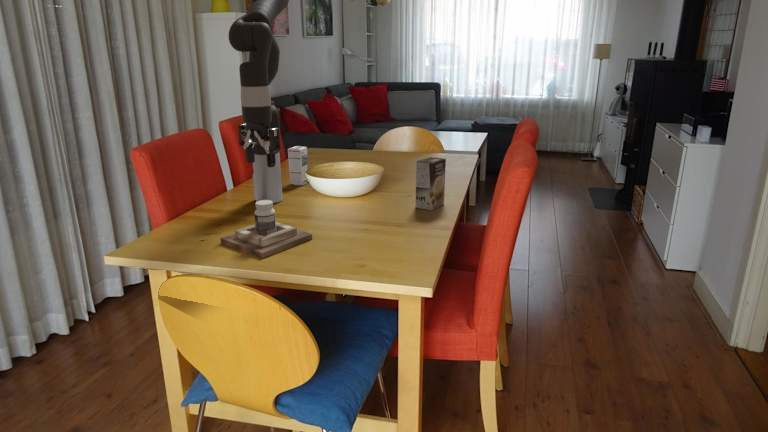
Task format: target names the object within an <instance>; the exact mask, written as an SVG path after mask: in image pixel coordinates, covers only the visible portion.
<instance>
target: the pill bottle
mask: <svg viewBox="0 0 768 432" xmlns="http://www.w3.org/2000/svg"><path fill="white" fill-rule="evenodd" d="M273 206H274V203H273V202H272V201H271V200H260V201H256V202H255V208H256V209H255V211H254V212H253V213H254V214H253V215H254V224H255V228H256V234H259V235H262V236H266V235H269V234H272V233H275V232H277V229H276V222H277V219H276V217H277V216H276V211H275V210H276V209H275V208H273Z"/></svg>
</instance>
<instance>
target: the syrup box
mask: <svg viewBox="0 0 768 432" xmlns="http://www.w3.org/2000/svg"><path fill="white" fill-rule="evenodd" d="M287 155H288V169H289V170H288V171H289V172H288V173H289V183H290V185H292V184H293V186H302V185H303V186H304V185H306V184H308V183H309V182H308V181H307V178H306V176H305V172H306V171H307V170H309V171H310V169H309V156H308V147H307V146H301V145H296V146H293V147H289V148H287ZM307 182H308V183H307Z"/></svg>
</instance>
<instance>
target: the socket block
mask: <svg viewBox="0 0 768 432" xmlns="http://www.w3.org/2000/svg"><path fill="white" fill-rule="evenodd" d="M276 229H277V232H275V233H272V234H269V235H266V236H262V235H259V234H256V228H255V223H254V224H251V225H247V226H245V227H242V228H239V229H236V230H235V231H234V232H235V233H232V234H229V235H226V236H223V237H220V239H219V240H220V244H222V245H225V246H228V247H231V248H232V249H236V250H239V251H241V252H244V253H246V254H250V255H253V256H255V257H258V258H261V259H265V258H267V257H270V256H272V255H275V254H278V253H280V252H283V251H285V250H287V249H291V248H293V247H295V246H297V245H300V244H303V243H306V242H308V241H310V240H313V233H311V232H307V231H303V230H300V229H297V227H295V226H291V225H288V224H286V223H285V224H284V223H281V222H279V221H278V222H277V221H276Z"/></svg>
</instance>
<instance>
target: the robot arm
mask: <svg viewBox="0 0 768 432" xmlns="http://www.w3.org/2000/svg"><path fill="white" fill-rule="evenodd" d="M289 1H290V0H251V5H250V6H249V7H248V9H247V12H246V13H245V14H243V15H242V16H239V18H237V19H235V20H234V21H233V23H232V24H231V25H230V27H229V30H228V41H229V44H230V46H231V47H232V48H233V50H235V51H237V52H241V53H248V52H249V55H248V61H244V62H242V63H241V64H239V80H240V81H239V83H240V105H241V117H242V122H243V123H240V124H238V126H237V128H238V130H237V131H238V144H239V146H240V147H243V149H244V150H245V159H246V160H245V161H246V163H247V164H252V166H253V173H252V185H253V197H254V198H253V199H254V200H255V201H256V202H257V201H260V200H271V201H272V202H273V204H275V203H280V202H282V201H283V200H284V199H283V185H282V171H281V170H282V169H281V156H280V151H281V150H282V148H281V138H280V137H281V135H280V115H279V111H278V109H277V107H276V106H275V105H274V104H272V102H271V100H272V99H271V92H270V87H269V86H270V85H271V83H272V82H273V80H274V79H275V77H276V76H277V73H278V72H279V66H280V54H281V53H280V52H281V51H280V46H279V44H278V41H277V40H276V37H275V36H274V34H273V31H272V29H271V28H272V25H273V23H274V21H275V19H276V18H277V17H278V16H279V15H280V14H281V13H282V11H283V10H285V8H287V6H288V4H289Z"/></svg>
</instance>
